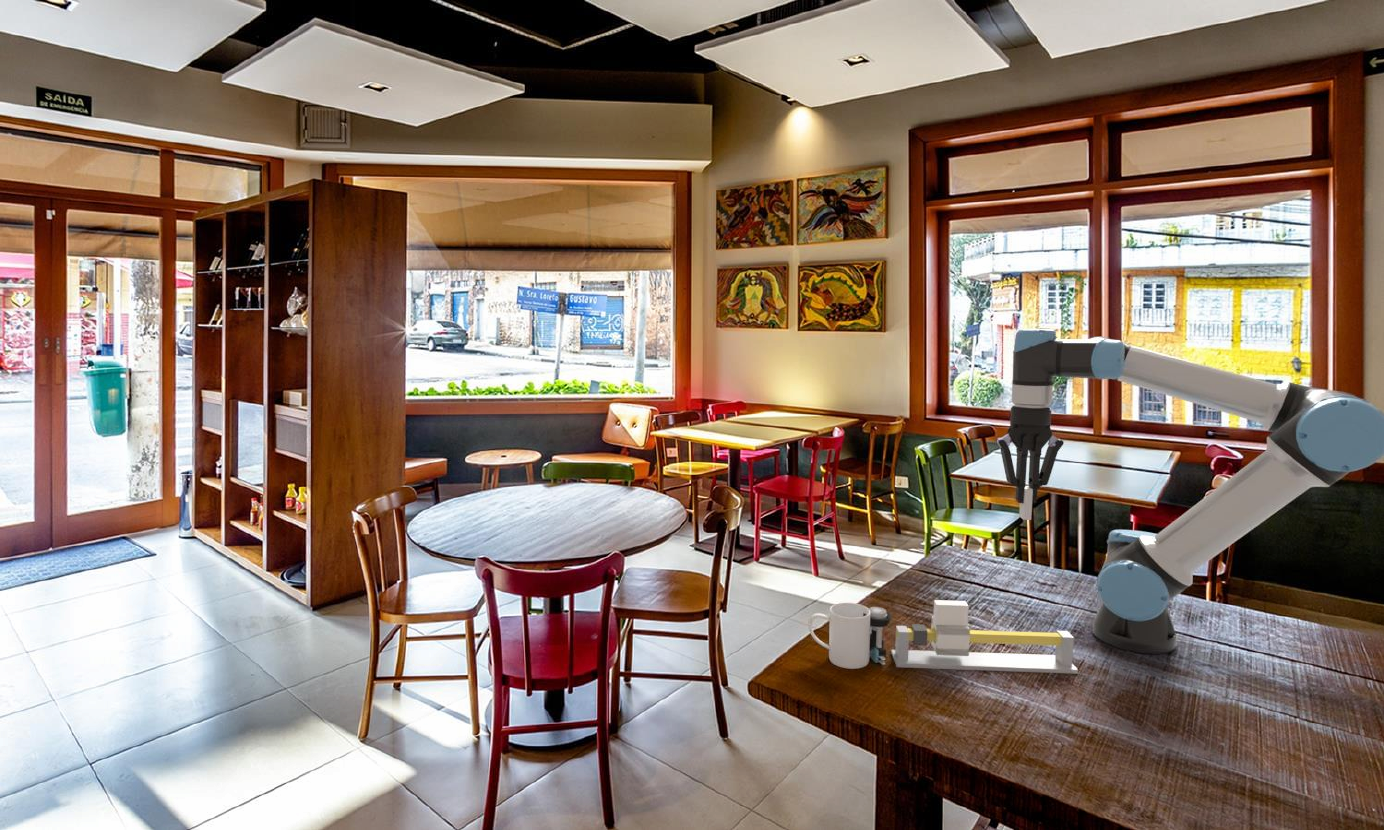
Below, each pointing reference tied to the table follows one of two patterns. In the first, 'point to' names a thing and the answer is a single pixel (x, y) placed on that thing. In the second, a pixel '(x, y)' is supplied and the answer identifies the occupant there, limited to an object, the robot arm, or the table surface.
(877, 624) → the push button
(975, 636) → the long yellow bar
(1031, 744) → the table surface
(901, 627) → the linear slide rail
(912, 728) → the table surface
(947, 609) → the white stepped block
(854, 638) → the mug
